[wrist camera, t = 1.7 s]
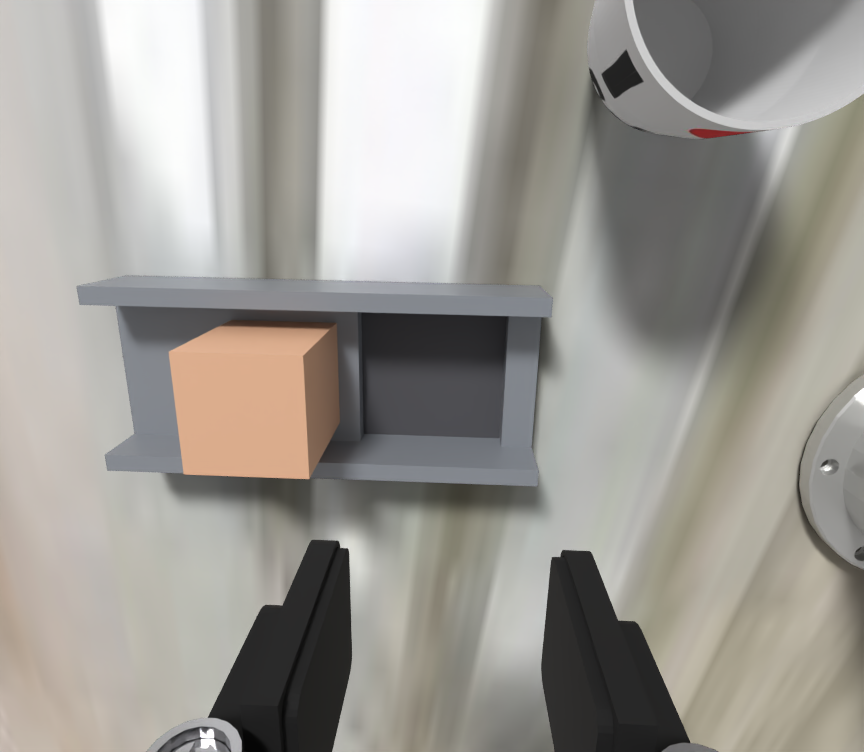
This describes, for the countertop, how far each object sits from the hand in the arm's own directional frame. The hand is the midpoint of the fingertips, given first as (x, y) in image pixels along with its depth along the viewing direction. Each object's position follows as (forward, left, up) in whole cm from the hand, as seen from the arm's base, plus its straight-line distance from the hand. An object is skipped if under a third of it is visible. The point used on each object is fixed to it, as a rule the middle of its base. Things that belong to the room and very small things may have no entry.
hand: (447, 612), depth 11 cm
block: (+8, 0, -16) cm, 18 cm away
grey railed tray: (+6, 0, -17) cm, 18 cm away
